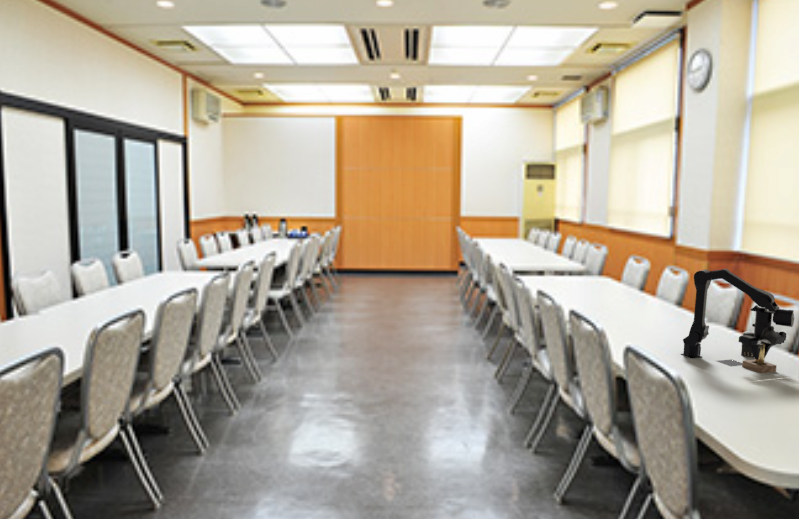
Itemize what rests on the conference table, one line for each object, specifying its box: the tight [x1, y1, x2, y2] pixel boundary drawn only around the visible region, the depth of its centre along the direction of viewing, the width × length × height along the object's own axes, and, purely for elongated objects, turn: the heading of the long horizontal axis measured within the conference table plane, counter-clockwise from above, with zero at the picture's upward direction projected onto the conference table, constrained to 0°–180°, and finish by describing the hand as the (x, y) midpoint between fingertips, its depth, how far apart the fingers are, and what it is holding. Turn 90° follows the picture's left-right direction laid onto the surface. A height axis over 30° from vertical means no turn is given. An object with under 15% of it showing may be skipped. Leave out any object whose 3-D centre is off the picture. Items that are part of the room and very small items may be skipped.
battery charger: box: [740, 331, 755, 358], centre depth 257 cm, size 7×4×11 cm, turn 68°
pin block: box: [741, 359, 777, 374], centre depth 239 cm, size 8×9×3 cm
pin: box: [754, 344, 765, 365], centre depth 238 cm, size 3×3×10 cm
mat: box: [716, 359, 743, 367], centre depth 247 cm, size 9×8×1 cm
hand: (759, 359), depth 239 cm, fingers closed on pin, 3 cm apart
